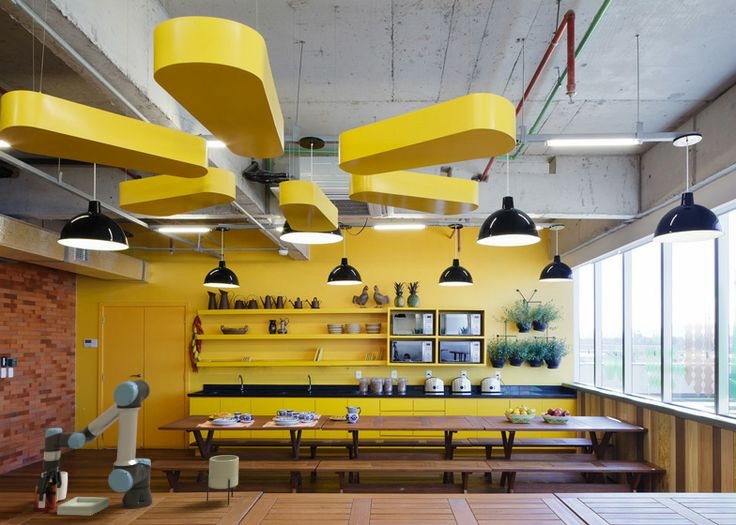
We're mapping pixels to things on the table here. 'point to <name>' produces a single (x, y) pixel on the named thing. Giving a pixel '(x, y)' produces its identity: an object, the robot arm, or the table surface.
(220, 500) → the table surface
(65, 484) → the cup
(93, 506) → the tray
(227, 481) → the planter
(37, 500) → the mug
